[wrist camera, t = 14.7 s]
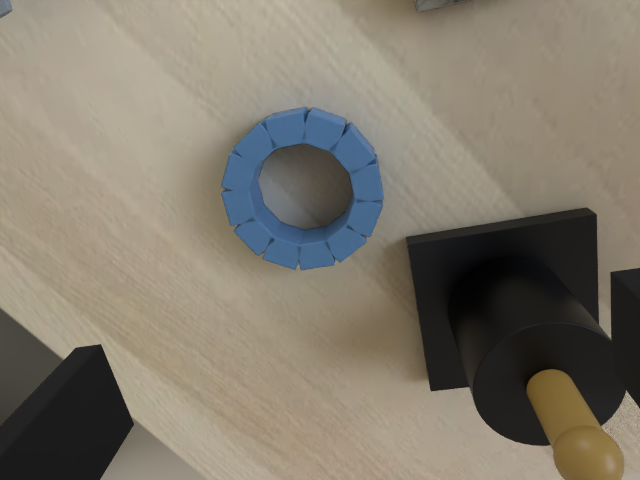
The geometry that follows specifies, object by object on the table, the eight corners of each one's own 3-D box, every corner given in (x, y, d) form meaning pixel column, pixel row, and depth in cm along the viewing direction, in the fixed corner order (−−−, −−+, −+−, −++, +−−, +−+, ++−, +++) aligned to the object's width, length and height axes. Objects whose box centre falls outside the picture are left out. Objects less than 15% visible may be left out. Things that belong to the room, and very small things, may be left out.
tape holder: (587, 207, 34) (774, 342, 18) (591, 359, 38) (746, 573, 22) (406, 236, 35) (439, 383, 20) (428, 379, 39) (470, 591, 24)
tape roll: (366, 94, 32) (366, 99, 29) (391, 239, 36) (393, 256, 33) (216, 125, 34) (203, 132, 31) (254, 261, 37) (245, 279, 34)
